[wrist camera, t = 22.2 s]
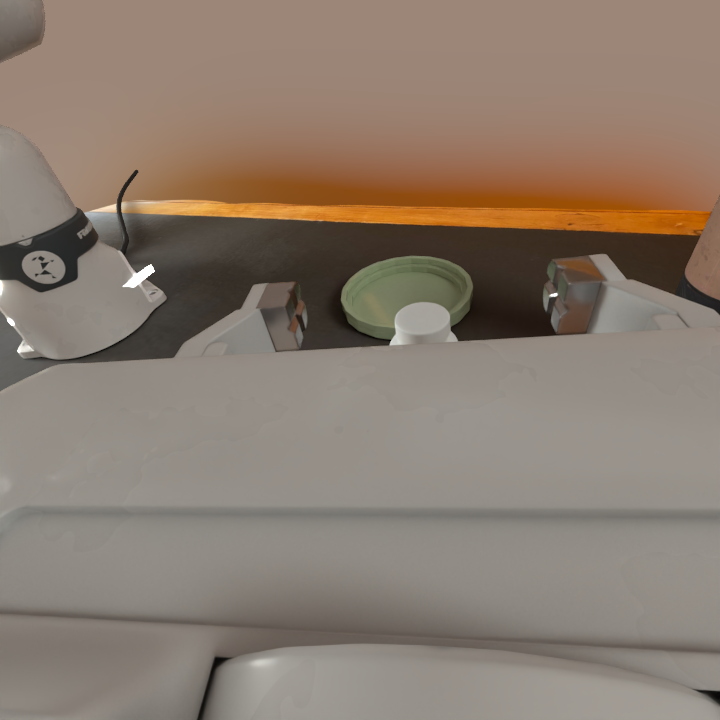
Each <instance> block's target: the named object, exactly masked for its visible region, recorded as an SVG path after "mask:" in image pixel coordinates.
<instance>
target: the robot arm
mask: <svg viewBox="0 0 720 720" xmlns="http://www.w3.org/2000/svg"><path fill="white" fill-rule="evenodd" d="M44 31H45V12H44V6H43V2H42V0H0V63H1V62H4V61H6V60H8V59H11V58H13V57H15V56H17V55H20V54H22V53H24V52H26V51H28V50H30V49H32V48H34V47H36V46H38V45H40V44H41V43H42V40H43V36H44ZM137 173H138V170H135V171H134V173H133V174H132V175H131V176H130V178H129V179H128V180H127V182H126V183H125V185H124V186H123V188H122V190H121V191H120V193H119V196H118V199H117V214H118V218H119V223H120V227H121V231H122V235H123V238H124V239H123V243H122V246H121V249H120V251H117V250H116V249H115V248H113V247H110V246H108V245H106V244H104V243H103V242H101V241H100V240H99V239H98V234H97V233H96V231H95V229H94V228H93V226H92V223H91V222H90V220H89V219H88V218H87V217H86V216H85V214H84V213H83V211H82V210H81V209H79V208H77V207H75V206H74V204H73V202H72V201H71V199H70V197H69V196H68V194H67V193H66V191H65V189H64V188H63V187H62V185H61V183H60V181H59V180H58V178H57V177H56V175H55V174H54V172H53V170H52V169H51V167H50V166H49V164H48V162H47V161H46V159H45V158H44V156H43V155H42V153H41V151H40V150H39V148H38V147H37V146H36V145H35V144H34V143H33V142H32V141H31V140H30V139H28V138H27V137H26V136H24V135H23V134H21V133H19V132H17V131H15V130H14V129H11V128H9V127H6V126H3V125H0V311H1V312H2V313H3V314H4V316H5V317H6V318H7V319H8V322H9V323H10V324H11V325H12V326H13V327H14V328H15V329H16V330H17V332H18V333H19V334H20V335H21V336H22V338H23V341H22V343H21V345H20V347H19V349H18V352H19V354H20V355H21V356H22V358H25V359H27V358H36V357H47V358H50V359H57V360H62V359H72V358H77V357H81V356H85V355H88V354H91V353H94V352H97V351H100V350H102V349H104V348H107V347H109V346H111V345H113V344H115V343H117V342H118V341H120V340H122V339H123V338H125V337H127V336H128V335H129V334H131V333H132V332H134V331H135V330H136V329H137V328H138V327H140V326H141V325H142V324H143V323H144V321H145V320H146V319H147V318H148V316H149V315H150V314H151V312H152V311H153V310H154V309H155V308H157V307H158V306H159V305H161V304H162V303H163V302H164V301H165V300H166V299H167V297H166V295H165V294H164V293H163V291H161V290H160V289H159V288H157V287H156V286H155V285H153V284H152V283H150V282H149V281H148V280H146V279H145V278H146V277H148V276H149V275H150V274H151V273H153V272H154V269H153V267H152V265H149V266H148V267H146V268H145V269H144V270H142V271H141V272H140V273H137V271H136V270H134V269H132V268H131V266H130V265H129V263H128V261H127V260H126V258H125V256H124V254H125V251H126V249H127V246H128V243H129V238H128V234H127V232H126V227H125V224H124V220H123V217H122V212H121V202H122V197H123V195H124V192H125V190H126V189H127V187H128V185H129V184H130V183H131V181H132V180H133V179H134V177H135V176H136V174H137ZM547 274H548V275H549V277H550V280H549V281H548V282H547V283H546V284H545V285H544V291H543V304H544V309H545V311H546V313H547V314H549V315H551V316H552V317H551V321H550V322H551V324H552V326H553V328H554V330H555V332H556V334H557V335H560V336H543V337H526V338H509V339H492V340H475V341H458V342H441V343H424V344H406V345H389V346H372V347H355V348H338V349H320V350H303V351H293V350H300V347H301V344H302V340H303V335H302V332H303V331H304V330H305V329H306V326H307V311H306V307H305V303H304V302H302V301H301V300H300V296H301V293H302V292H301V289H300V286H299V284H298V283H297V281H295V282H281V283H264V284H256V285H253V287H252V289H251V291H250V293H249V295H248V296H247V298H246V300H245V302H244V304H243V306H242V308H241V310H236V311H234V312H233V313H231V314H229V315H228V316H226V317H225V318H223V319H221V320H220V321H218V322H217V323H215V324H214V325H212V326H210V327H209V328H207V329H206V330H204V331H202V332H201V333H199V334H198V335H196V336H194V337H193V338H191V339H190V340H188V341H186V342H185V343H183V345H182V346H181V348H180V349H179V351H178V352H177V354H176V356H175V357H174V358H167V359H150V360H133V361H116V362H98V363H74V364H61V365H56V366H53V367H50V368H48V369H45V370H43V371H41V372H39V373H36V374H34V375H32V376H30V377H28V378H26V379H24V380H22V381H20V382H18V383H16V384H14V385H12V386H10V387H8V388H6V389H4V390H2V391H0V720H720V315H719V314H718V313H717V312H716V311H715V310H714V309H711V308H708V307H706V306H703V305H700V304H697V303H695V302H692V301H689V300H687V299H684V298H681V297H678V296H676V295H673V294H670V293H668V292H665V291H662V290H659V289H657V288H654V287H651V286H649V285H646V284H643V283H640V282H638V281H635V280H627V279H626V278H625V277H624V276H623V274H622V273H621V272H620V271H619V269H618V268H617V267H616V266H615V265H614V263H613V262H612V261H611V260H610V258H609V257H608V256H607V255H605V254H598V255H590V256H579V257H570V258H561V259H553V260H550V263H549V265H548V270H547ZM565 334H577V335H565ZM281 351H286V352H281Z"/></svg>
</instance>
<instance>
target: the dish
mask: <svg viewBox="0 0 720 720" xmlns="http://www.w3.org/2000/svg"><path fill="white" fill-rule="evenodd" d="M472 299H473V284H472V281H471V278H470V275H469V274H468V273H467V272H465V271H464V270H463V269H462V268H461V267H460V266H458V265H456V264H454V263H452V262H449V261H447V260H443V259H439V258H434V257H427V256H407V257H398V258H392V259H388V260H384V261H381V262H377V263H374V264H372V265H370V266H368V267H366V268H364V269H361V270H360V271H359V272H358V273H356V274H355V275H354V276H352V277H351V278H350V279H349V280H348V282H347V283H346V284H345V286H344V287H343V289H342V295H341V304H342V308H343V312H344V314H345V317H346V319H347V321H348V323H350V324H351V325H352V326H353V327H354V328H356V329H357V330H358V331H360V332H362V333H365V334H368V335H371V336H373V337H377V338H382V339H390V340H392V338H393V337H394V335H395V334H396V330H395V317H396V314H397V313H398V312H399V311H400V310H401V309H402V308H404V307H405V306H408V305H410V304H413V303H419V302H430V303H435V304H438V305H441V306H442V307H444V308H445V309H446V310H447V311H448V312H449V315H450V327H451V326H453V325H455V324H457V323H458V322H460V320H461V319H462V318H463V317H464V316H465V315H466V314H467V313H468V311H469V310H470V306H471V302H472Z"/></svg>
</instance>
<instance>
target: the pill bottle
mask: <svg viewBox="0 0 720 720" xmlns="http://www.w3.org/2000/svg"><path fill="white" fill-rule="evenodd" d="M395 330H396V334H395V335H394V337H393V338H392V340H391V342H390V345H406V344H424V343H441V342H458V340H457V338H456V336H455V335H454V334H453V333H452V332H451V331H450V330H451V327H450V315H449V312H448V311H447V310H446V309H445V308H444V307H442V306H441V305H438V304H435V303H430V302H419V303H413V304H410V305H408V306H405V307H404V308H402V309H401V310H400V311H399V312H398V313H397V314H396V317H395Z"/></svg>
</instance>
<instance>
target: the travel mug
mask: <svg viewBox="0 0 720 720" xmlns="http://www.w3.org/2000/svg"><path fill="white" fill-rule="evenodd" d="M675 295H676V296H678V297H681V298H684V299H687V300H689V301H692V302H695V303H697V304H700V305H703V306H706V307H708V308H711V309H714V310H715V311H716V312H717V313H718V314H719V315H720V196H719V198H718V200H717V202H716V204H715V206H714V209H713V211H712V213H711V215H710V217H709V219H708V221H707V223H706V226H705V228H704V230H703V232H702V234H701V236H700V239H699V241H698V243H697V245H696V247H695V249H694V251H693V254H692V256H691V258H690V260H689V262H688V264H687V266H686V269H685V271H684V273H683V276H682V278H681V281H680V283H679V286H678V288H677V291H676V293H675Z"/></svg>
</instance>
